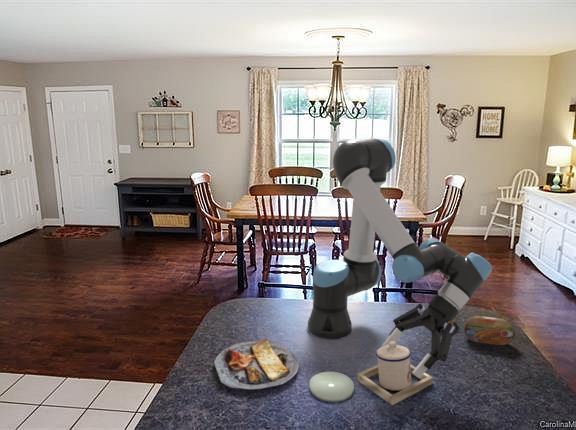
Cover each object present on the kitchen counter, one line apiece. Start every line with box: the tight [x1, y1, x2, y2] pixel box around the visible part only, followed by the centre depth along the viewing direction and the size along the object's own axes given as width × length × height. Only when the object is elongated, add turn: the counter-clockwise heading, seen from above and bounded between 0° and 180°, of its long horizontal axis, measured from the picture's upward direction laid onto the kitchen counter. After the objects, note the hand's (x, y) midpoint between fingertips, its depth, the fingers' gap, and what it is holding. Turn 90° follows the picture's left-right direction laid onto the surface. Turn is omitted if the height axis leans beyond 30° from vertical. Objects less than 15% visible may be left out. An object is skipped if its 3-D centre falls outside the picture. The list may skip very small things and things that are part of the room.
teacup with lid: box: [375, 341, 413, 392], centre depth 120 cm, size 12×9×12 cm
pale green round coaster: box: [309, 371, 355, 403], centre depth 118 cm, size 12×12×1 cm
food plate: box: [213, 338, 300, 390], centre depth 127 cm, size 25×23×4 cm
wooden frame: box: [356, 363, 434, 406], centre depth 120 cm, size 13×16×2 cm
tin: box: [463, 315, 516, 346], centre depth 141 cm, size 15×3×8 cm, turn 73°
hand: (399, 361), depth 119 cm, fingers open, 13 cm apart
